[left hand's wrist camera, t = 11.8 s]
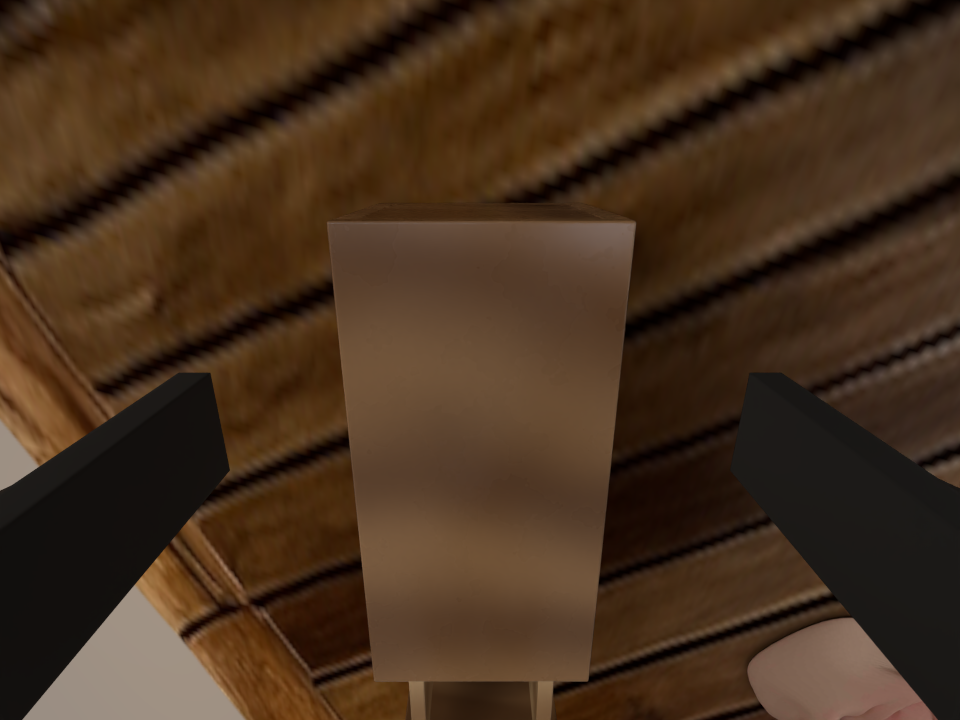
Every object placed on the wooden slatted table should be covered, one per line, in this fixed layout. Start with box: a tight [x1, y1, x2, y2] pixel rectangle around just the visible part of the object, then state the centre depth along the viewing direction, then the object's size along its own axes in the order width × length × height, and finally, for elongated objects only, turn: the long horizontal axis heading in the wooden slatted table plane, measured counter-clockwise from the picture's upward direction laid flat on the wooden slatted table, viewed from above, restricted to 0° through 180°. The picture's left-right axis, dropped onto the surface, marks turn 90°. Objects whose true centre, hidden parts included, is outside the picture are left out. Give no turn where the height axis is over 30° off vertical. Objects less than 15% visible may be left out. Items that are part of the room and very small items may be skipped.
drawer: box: [405, 681, 557, 720], centre depth 30 cm, size 26×9×8 cm, turn 0°
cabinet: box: [327, 203, 636, 682], centre depth 25 cm, size 22×10×10 cm, turn 0°
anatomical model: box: [747, 618, 938, 720], centre depth 35 cm, size 13×4×12 cm
